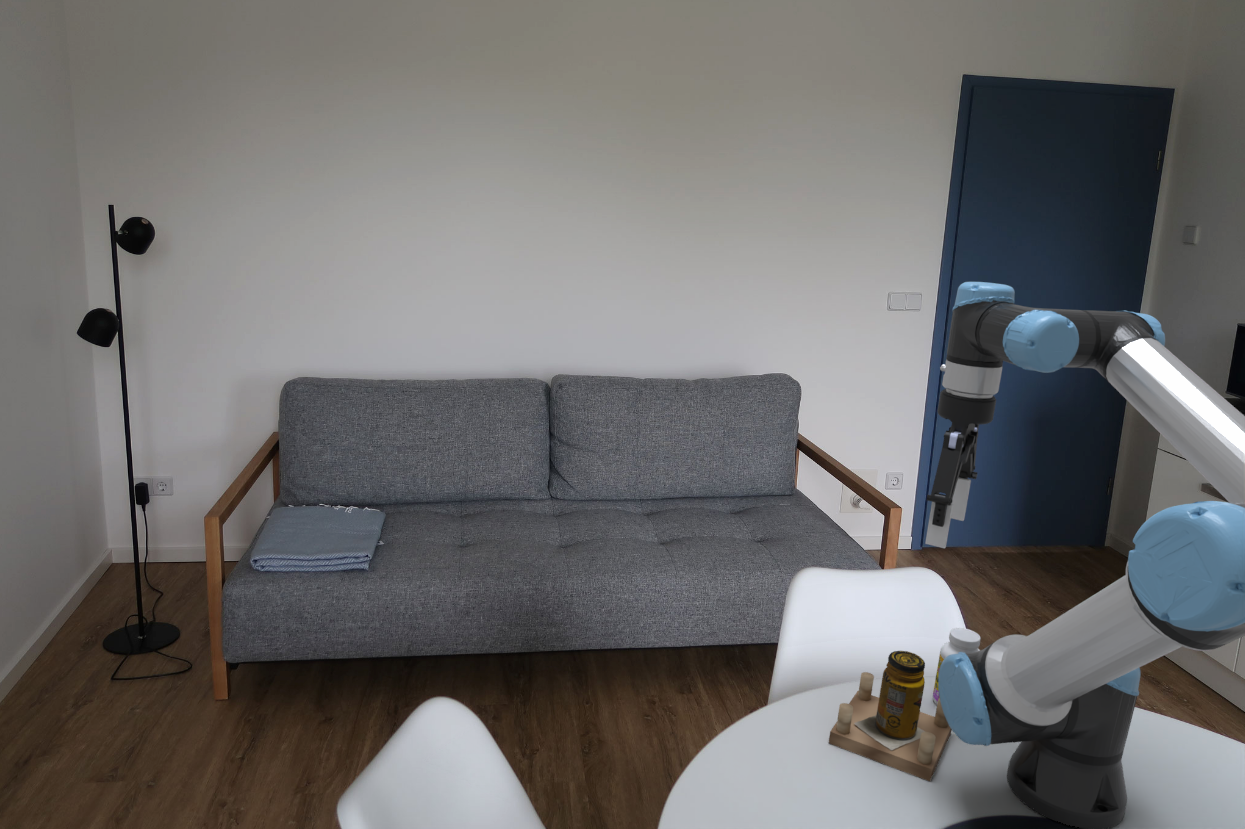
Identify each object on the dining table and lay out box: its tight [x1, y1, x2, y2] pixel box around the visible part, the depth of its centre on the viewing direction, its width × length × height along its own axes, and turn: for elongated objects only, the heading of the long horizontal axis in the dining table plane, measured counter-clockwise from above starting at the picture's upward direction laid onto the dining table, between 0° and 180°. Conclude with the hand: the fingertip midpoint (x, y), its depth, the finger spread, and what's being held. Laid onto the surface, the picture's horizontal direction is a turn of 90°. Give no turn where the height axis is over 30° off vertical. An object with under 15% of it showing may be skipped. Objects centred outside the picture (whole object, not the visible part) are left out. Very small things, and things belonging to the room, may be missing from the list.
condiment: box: [854, 650, 926, 750], centre depth 133 cm, size 7×8×12 cm
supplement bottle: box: [932, 627, 981, 706], centre depth 145 cm, size 7×7×13 cm
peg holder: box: [828, 671, 953, 782], centre depth 135 cm, size 15×14×6 cm
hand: (945, 531), depth 132 cm, fingers open, 13 cm apart
